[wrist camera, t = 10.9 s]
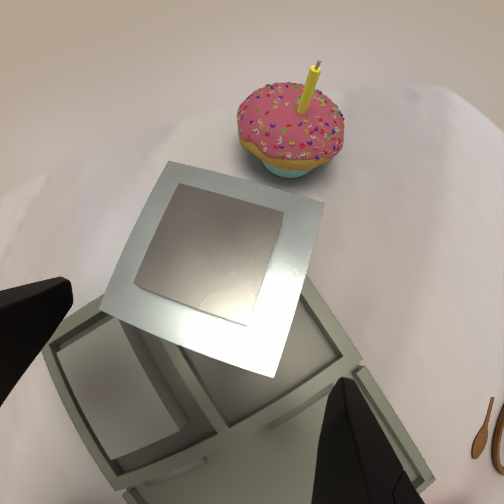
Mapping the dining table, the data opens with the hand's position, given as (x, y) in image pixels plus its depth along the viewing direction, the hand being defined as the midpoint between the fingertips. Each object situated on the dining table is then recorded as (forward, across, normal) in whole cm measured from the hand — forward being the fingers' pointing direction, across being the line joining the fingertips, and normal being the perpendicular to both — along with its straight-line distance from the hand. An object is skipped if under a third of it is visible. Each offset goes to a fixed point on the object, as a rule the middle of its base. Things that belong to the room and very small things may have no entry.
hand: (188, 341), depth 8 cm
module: (+10, 0, +7) cm, 12 cm away
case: (+5, -3, +13) cm, 14 cm away
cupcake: (+21, 0, -3) cm, 21 cm away
